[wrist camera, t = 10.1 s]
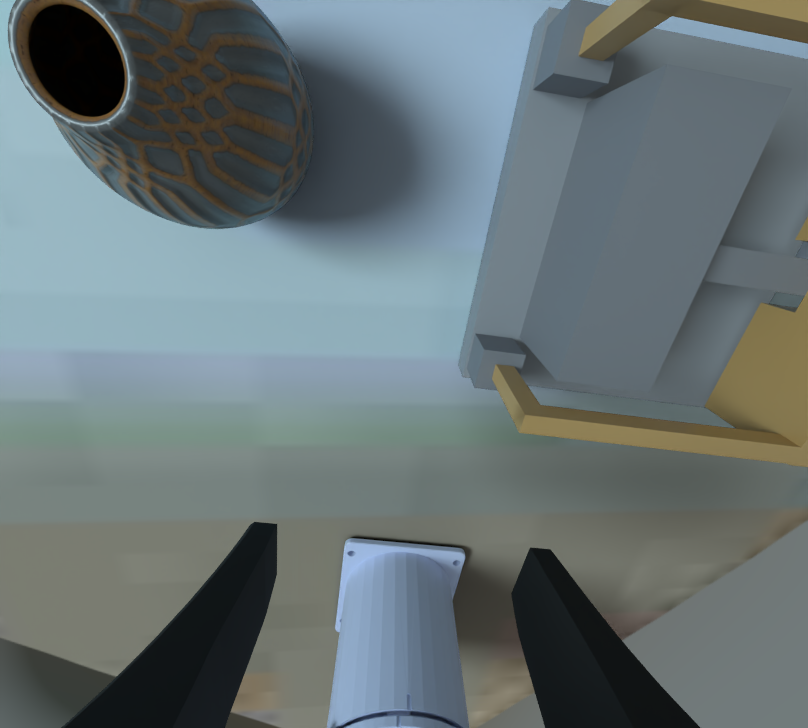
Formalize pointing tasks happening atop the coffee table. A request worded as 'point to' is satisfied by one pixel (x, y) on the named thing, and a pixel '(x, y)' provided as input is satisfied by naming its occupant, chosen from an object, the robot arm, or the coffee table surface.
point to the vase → (172, 101)
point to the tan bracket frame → (766, 333)
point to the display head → (640, 213)
